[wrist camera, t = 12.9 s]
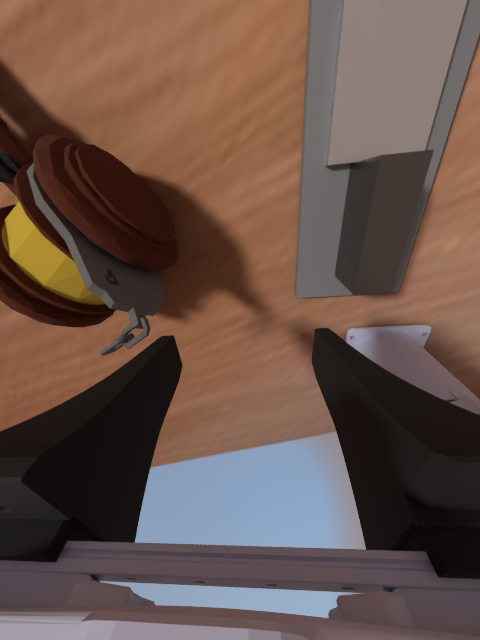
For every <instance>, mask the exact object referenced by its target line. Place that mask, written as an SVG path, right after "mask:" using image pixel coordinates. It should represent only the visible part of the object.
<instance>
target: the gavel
mask: <svg viewBox="0 0 480 640" xmlns="http://www.w3.org/2000/svg"><path fill="white" fill-rule="evenodd" d="M0 182H3V183H4V184H5V185H6V186H7V187H8V188H9V189H10V190H11V191H12V192H13V193H14V194H15V195H16V196H17V198H18V200H19V202H18V203H17V204H15V205H11V206H7V207H2V208H0V300H1V301H2V302H3V303H5V304H6V305H7V306H8V307H10V308H11V309H12V310H15V311H17V312H19V313H21V314H23V315H26V316H28V317H30V318H32V319H34V320H36V321H39V322H42V323H46V324H51V325H58V326H67V327H87V326H91V325H96V324H100V323H101V322H103V321H104V320H106V319H107V318H109V317H110V316H111V315H113V313H114V311H115V310H121V311H126V312H128V313H129V317H130V320H131V324H130V325H128V326H127V327H126V328H124V329H123V330H122V333H121V336H120V337H119V338H118V339H116V340H115V341H114V342H112V343H111V344H110V345H108V346H107V347H105V348H104V349H103V350H101V351H100V354H101V355H103V356H104V355H107V354H110V353H112V352H115V351H116V350H118V349H119V348H121V347H122V346H124V347H126V348H127V349H129V348H131V347H132V346H134V345H135V344H137V343H138V342H140V341H141V340H142V339H144V338H145V337H147V336H148V335H149V332H150V326H149V322H148V319H146V316H145V315H151V316H153V315H154V314H155V313H157V312H158V310H159V307H160V306H161V305H163V304H164V303H165V296H164V291H163V285H162V279H161V274H160V271H162V270H164V269H166V268H168V267H170V266H172V265H174V264H175V262H176V259H177V255H178V251H177V240H176V238H175V230H174V226H173V223H172V221H171V219H170V217H169V215H168V213H167V212H166V210H165V209H164V207H163V206H162V204H161V203H160V201H159V200H158V199H157V197H156V196H155V195H154V194H153V192H152V191H151V190H150V189H149V188H148V187H147V186H146V185H145V184H144V183H143V181H142V180H141V179H140V178H139V177H138V176H137V175H136V174H135V173H133V172H132V171H131V170H130V169H129V168H128V167H127V166H126V165H125V164H123V163H122V162H121V161H119V160H118V159H117V158H115V157H114V156H113V155H111V154H110V153H108V152H106V151H104V150H102V149H100V148H98V147H97V146H95V145H89V144H84V143H82V142H80V141H77V140H75V139H72V138H69V137H67V136H57V135H44V136H42V137H40V138H39V139H37V142H36V145H35V148H34V151H33V157H32V156H31V155H30V154H29V153H28V152H27V151H26V150H25V148H24V147H23V146H22V145H21V144H20V143H19V142H18V141H17V140H16V138H15V137H14V136H13V135H12V134H11V133H10V132H9V131H8V128H7V125H6V123H5V122H4V121H3V120H2V119H1V118H0ZM134 328H140V329H143V328H144V331H143V332H142V333H140V334H139V335H138V336H136V337H135V338H134V335H133V334H132V333H131V334H128V333H129V332H131V331H132V330H133V329H134Z"/></svg>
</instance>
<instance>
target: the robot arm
mask: <svg viewBox="0 0 480 640" xmlns="http://www.w3.org/2000/svg"><path fill="white" fill-rule="evenodd" d="M430 332H431V327H430V326H429V325H426V324H424V325H403V326H382V327H361V328H351V329H349V330H348V331H347V335H346V340H345V341H344V340H343V339H342V338H340V337H339V336H338V335H336V334H335V333H334V332H333V331H331V330H330V329H329V328H319V329H315V335H314V344H313V353H312V364H313V368H314V372H315V376H316V379H317V382H318V384H319V387H320V389H321V392H322V394H323V397H324V399H325V402H326V404H327V407H328V409H329V412H330V414H331V417H332V419H333V422H334V425H335V428H336V431H337V434H338V438H339V441H340V445H341V448H342V452H343V455H344V459H345V463H346V466H347V470H348V474H349V478H350V482H351V486H352V490H353V493H354V498H355V502H356V506H357V510H358V515H359V519H360V523H361V528H362V532H363V536H364V541H365V546H366V550H357V549H356V550H355V549H324V548H292V547H291V548H290V547H258V546H227V545H194V544H160V543H134V542H135V537H136V532H137V526H138V521H139V516H140V511H141V506H142V501H143V497H144V492H145V487H146V483H147V479H148V474H149V470H150V466H151V462H152V458H153V455H154V451H155V447H156V443H157V440H158V436H159V433H160V430H161V427H162V424H163V421H164V418H165V416H166V413H167V411H168V408H169V406H170V403H171V400H172V398H173V395H174V393H175V390H176V387H177V385H178V382H179V378H180V374H181V369H182V362H181V359H180V355H179V352H178V348H177V345H176V342H175V338H174V335H173V336H162V337H160V338H159V339H157V340H156V341H155V342H153V343H152V344H151V345H150V346H148V347H147V348H146V349H144V350H143V351H142V352H141V353H139V354H138V355H137V356H136V357H134V358H133V359H132V360H130V361H129V362H128V363H126V364H125V365H123V366H122V367H121V368H119V369H118V370H117V371H115V372H114V373H112V374H111V375H109V376H108V377H107V378H105V379H103V380H102V381H100V382H99V383H97V384H95V385H94V386H92V387H91V388H89V389H87V390H86V391H84V392H82V393H80V394H78V395H76V396H75V397H73V398H71V399H69V400H67V401H66V402H64V403H62V404H60V405H58V406H56V407H54V408H52V409H50V410H48V411H46V412H44V413H42V414H40V415H37V416H35V417H33V418H31V419H29V420H27V421H24V422H22V423H20V424H17V425H15V426H13V427H10V428H8V429H5V430H3V431H1V432H0V640H480V399H479V398H478V397H476V396H475V395H474V394H473V393H472V392H471V391H470V390H469V389H468V388H467V387H465V386H464V385H463V384H462V383H461V382H460V381H459V380H458V379H457V378H456V377H455V376H453V375H452V374H451V373H450V372H449V371H448V370H447V369H446V368H445V367H444V366H442V365H441V364H440V363H439V362H438V361H437V360H436V359H435V358H434V357H433V356H431V355H430V354H429V353H428V352H427V351H426V350H425V349H424V348H423V347H424V345H425V343H426V341H427V338H428V336H429V334H430ZM351 336H353V337H351ZM350 337H351V338H350ZM100 581H114V582H115V581H117V582H136V583H158V584H180V585H201V586H223V587H225V586H226V587H245V588H246V587H247V588H268V589H290V590H311V591H332V592H354V593H355V592H356V593H362V594H352V595H342V596H338V599H337V605H338V607H336V608H334V609H332V610H330V612H329V614H328V615H329V618H321V617H312V616H303V615H295V614H285V613H275V612H265V611H253V610H240V609H227V608H210V607H191V606H158V605H157V606H156V605H155V603H154V602H153V601H150V600H147V599H145V598H142V597H140V596H138V595H137V594H135V593H133V591H132V590H131V589H130V587H126V586H119V585H113V584H108V583H102V582H100Z"/></svg>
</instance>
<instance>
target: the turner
mask: <svg viewBox="0 0 480 640" xmlns="http://www.w3.org/2000/svg"><path fill="white" fill-rule="evenodd" d="M466 3H467V0H342V1H341V6H340V17H339V27H338V37H337V48H336V58H335V69H334V79H333V90H332V100H331V111H330V121H329V132H328V142H327V152H326V163H325V166H331V165H340V164H350V163H351V165H350V172H349V179H348V186H347V193H346V200H345V207H344V214H343V220H342V227H341V234H340V241H339V248H338V255H337V262H336V269H335V277H336V278H337V279H338V280H339V281H340V282H341V283H342V284H343V285H344V286H345V287H346V288H347V289H348V290H349V291H350V292H351V293H352V294H353V295H359V294H376V293H392V289H393V286H394V283H395V279H396V276H397V273H398V269H399V266H400V263H401V259H402V256H403V253H404V249H405V246H406V242H407V239H408V236H409V232H410V229H411V226H412V222H413V219H414V216H415V212H416V209H417V206H418V202H419V199H420V195H421V192H422V189H423V185H424V182H425V179H426V175H427V172H428V169H429V165H430V162H431V159H432V155H433V152H434V149H433V150H425V149H426V145H427V142H428V138H429V134H430V131H431V127H432V124H433V120H434V117H435V113H436V110H437V106H438V102H439V99H440V95H441V92H442V88H443V85H444V81H445V78H446V74H447V70H448V67H449V63H450V60H451V56H452V53H453V49H454V46H455V42H456V38H457V35H458V31H459V28H460V24H461V21H462V17H463V14H464V10H465V6H466Z"/></svg>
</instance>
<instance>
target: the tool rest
mask: <svg viewBox="0 0 480 640" xmlns="http://www.w3.org/2000/svg"><path fill="white" fill-rule="evenodd" d="M341 1H342V0H309V17H308V38H307V58H306V78H305V99H304V119H303V139H302V160H301V180H300V201H299V221H298V241H297V262H296V282H295V296H296V298H310V297H327V296H344V295H353V294H352V293H351V292H350V291H349V290H348V289H347V288H346V287H345V286H344V285H343V284H342V283H341V282H340V281H339V280H338V279H337V278H336V277H335V269H336V262H337V255H338V248H339V241H340V234H341V227H342V220H343V214H344V207H345V200H346V193H347V186H348V179H349V172H350V165H351V163H350V164H340V165H331V166H325V163H326V152H327V142H328V132H329V121H330V111H331V100H332V90H333V79H334V69H335V58H336V48H337V37H338V27H339V17H340V6H341ZM479 34H480V0H467V3H466V6H465V10H464V14H463V17H462V21H461V24H460V28H459V31H458V35H457V38H456V42H455V46H454V49H453V53H452V56H451V60H450V63H449V67H448V70H447V74H446V78H445V81H444V85H443V88H442V92H441V95H440V99H439V102H438V106H437V110H436V113H435V117H434V120H433V124H432V127H431V131H430V134H429V138H428V142H427V145H426V149H425V150H433V149H434V152H433V155H432V159H431V162H430V165H429V169H428V172H427V175H426V179H425V182H424V185H423V189H422V192H421V195H420V199H419V202H418V206H417V209H416V212H415V216H414V219H413V222H412V226H411V229H410V232H409V236H408V239H407V242H406V246H405V249H404V253H403V256H402V259H401V263H400V266H399V269H398V273H397V276H396V279H395V283H394V286H393V289H392V293H395V292H398V291H399V288H400V285H401V282H402V279H403V276H404V272H405V269H406V266H407V263H408V260H409V257H410V253H411V250H412V247H413V244H414V241H415V238H416V234H417V231H418V228H419V225H420V222H421V218H422V215H423V212H424V209H425V206H426V203H427V199H428V196H429V193H430V190H431V187H432V184H433V180H434V177H435V174H436V171H437V168H438V165H439V161H440V158H441V155H442V152H443V149H444V145H445V142H446V139H447V136H448V133H449V130H450V126H451V123H452V120H453V117H454V114H455V111H456V107H457V104H458V101H459V98H460V95H461V92H462V88H463V85H464V82H465V79H466V76H467V72H468V69H469V66H470V63H471V60H472V57H473V53H474V50H475V47H476V44H477V41H478V38H479ZM376 294H378V293H376ZM359 295H361V294H359Z"/></svg>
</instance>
